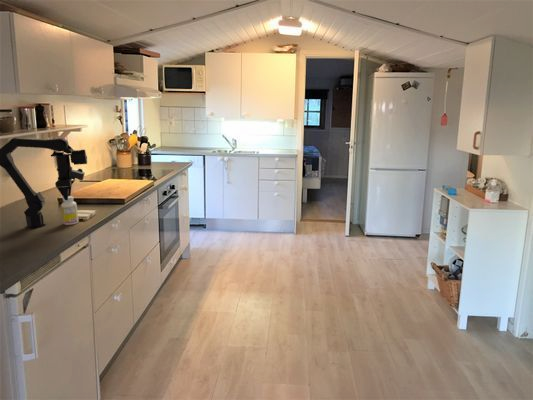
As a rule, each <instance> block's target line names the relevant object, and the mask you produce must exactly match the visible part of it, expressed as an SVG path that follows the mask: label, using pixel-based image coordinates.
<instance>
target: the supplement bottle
mask: <svg viewBox="0 0 533 400" xmlns="http://www.w3.org/2000/svg"><path fill="white" fill-rule="evenodd" d="M60 207H61V213H62V214H61V215H62V220H63V225H67V226H71V225H75V224H78V223H79V220H80V219H78V212H77V211H78V206H77V202H76V201H74V196H72V195H70V196H68V200H65V199H64V198H63V197H62V203H61V205H60Z"/></svg>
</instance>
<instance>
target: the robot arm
mask: <svg viewBox="0 0 533 400" xmlns="http://www.w3.org/2000/svg"><path fill="white" fill-rule="evenodd" d="M19 147H20V148H33V149H34V148H37V149H38V148H39V149H48V150H51V151H53V152H52V154H51V155H50V156H51V157H55V162H56V172H57V180H56V181H55V188H56V189H57V190H58V191H59V193H60V194H61V196H62V199H63V198H64V199H65V200H68V196H72V187H73V184H74V182H75V181H76V180H79V181H83V180H84V178H85V172H84V170H83V168H78V169H77V170H76V169H73V167H72V166H71V164H74V166H76V165H88V156H87V152H86V149H77V150H74V149H73V147H71V145H70V144H69V142H68V140H67V139H66V138H64V137H57V138H48V139H43V138H42V139H40V138H26V137H24V138H23V137H17V136H16V137H12V138H11V139H10V140H9V141H8V142H7V143H5V144H4V145H3V146H1V147H0V167H1V168H3V169H4V170H5V171H6V172H7V174H8V175H9V177H10V178H11V180H12V181H13V182H14V184H15V185H16V186H17V188H18V189H19V190H20V192H21V193H22V195H23V196H24V199H25V203H26V204H27V208H26V209H25V210H24V212H23V213H24V215H25V223H26V225H25V226H24V228H26V229H37V228H41V227H45V226H46V223H45V221H44V216H43V212H41V211H42V210H43V208H44V207H45V206H46V204H45V203H46V201H45V199H46V198H45V197H44V196H43V195H42V193H41V191H38V192H36V191H35V190H34V189H33V188H32V187H31V186H30V185H31V184H29V183H28V181H27V179H26V178H25V177H24V176H23V174H22V173H21V171H20V170H19V169H18V168H17V166H16V165H15V162H14V158H13V156H12V153H13V152H14V151H15V150H17V148H19Z"/></svg>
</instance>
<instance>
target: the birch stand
mask: <svg viewBox="0 0 533 400" xmlns="http://www.w3.org/2000/svg"><path fill="white" fill-rule="evenodd" d="M77 212H78V220H83V221H86V222H87V221H88V220H90V219H91V218H93V217H94V216H96V215H97V214H98V210H97V209H96V210H95V209H94V210H91V209H89V210H88V209H85V210H84V209H83V210H81V209H80V210H79V209H77Z"/></svg>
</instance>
